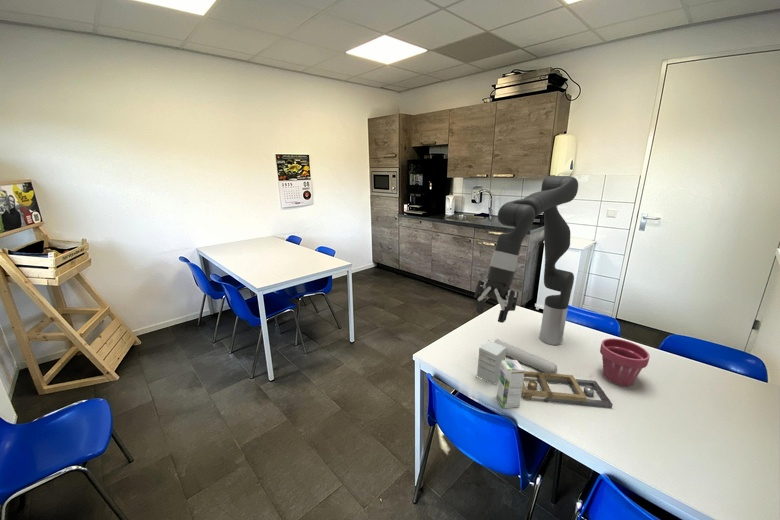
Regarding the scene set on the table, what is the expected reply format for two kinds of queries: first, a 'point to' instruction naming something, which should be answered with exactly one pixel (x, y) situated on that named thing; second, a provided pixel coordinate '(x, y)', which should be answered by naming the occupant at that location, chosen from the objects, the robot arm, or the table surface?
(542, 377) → the tan wooden frame
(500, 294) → the robot arm
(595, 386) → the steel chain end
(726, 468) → the table surface
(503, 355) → the supplement box
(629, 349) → the plant pot
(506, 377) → the syrup box
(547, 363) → the tube
